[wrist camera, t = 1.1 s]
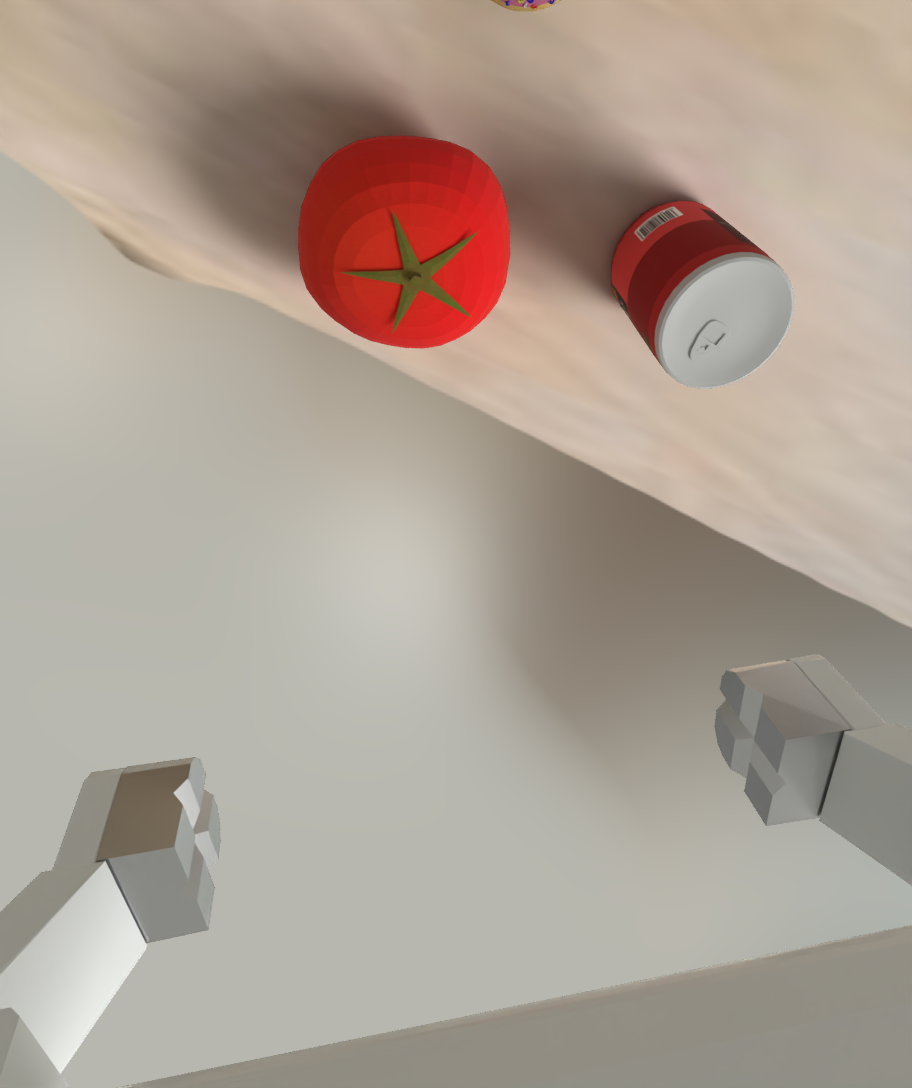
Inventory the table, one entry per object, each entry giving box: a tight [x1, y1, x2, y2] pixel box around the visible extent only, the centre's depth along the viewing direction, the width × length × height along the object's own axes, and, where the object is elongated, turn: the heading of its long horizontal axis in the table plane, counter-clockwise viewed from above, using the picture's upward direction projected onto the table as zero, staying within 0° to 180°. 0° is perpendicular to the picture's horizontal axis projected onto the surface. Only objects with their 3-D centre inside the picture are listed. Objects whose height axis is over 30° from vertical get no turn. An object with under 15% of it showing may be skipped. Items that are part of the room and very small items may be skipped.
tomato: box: [298, 136, 510, 348], centre depth 42 cm, size 11×12×10 cm
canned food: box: [611, 201, 794, 389], centre depth 46 cm, size 8×8×11 cm
